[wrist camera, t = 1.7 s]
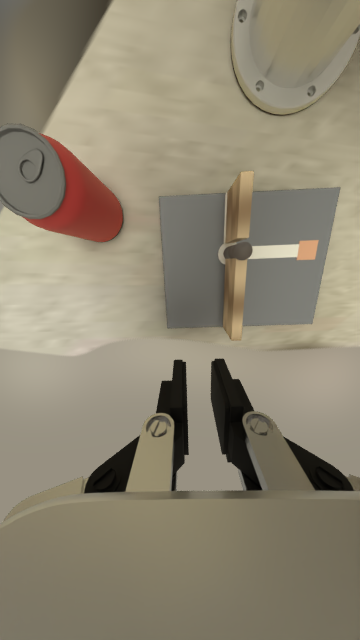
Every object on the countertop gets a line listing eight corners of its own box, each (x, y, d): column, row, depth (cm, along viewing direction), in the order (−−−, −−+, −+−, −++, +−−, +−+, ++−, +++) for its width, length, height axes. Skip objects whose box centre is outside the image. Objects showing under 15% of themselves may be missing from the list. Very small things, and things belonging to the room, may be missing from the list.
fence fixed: (227, 192, 22) (240, 171, 17) (236, 192, 22) (253, 170, 17) (225, 243, 24) (237, 238, 18) (234, 242, 24) (248, 237, 18)
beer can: (134, 216, 24) (89, 174, 12) (103, 253, 25) (38, 246, 14) (95, 173, 22) (3, 82, 11) (65, 215, 24) (-44, 172, 12)
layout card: (159, 199, 23) (158, 196, 22) (333, 190, 22) (341, 186, 21) (168, 325, 29) (167, 328, 27) (307, 321, 28) (312, 324, 27)
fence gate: (223, 246, 23) (235, 242, 18) (237, 245, 23) (253, 241, 18) (220, 326, 27) (230, 342, 22) (232, 326, 27) (244, 341, 22)
